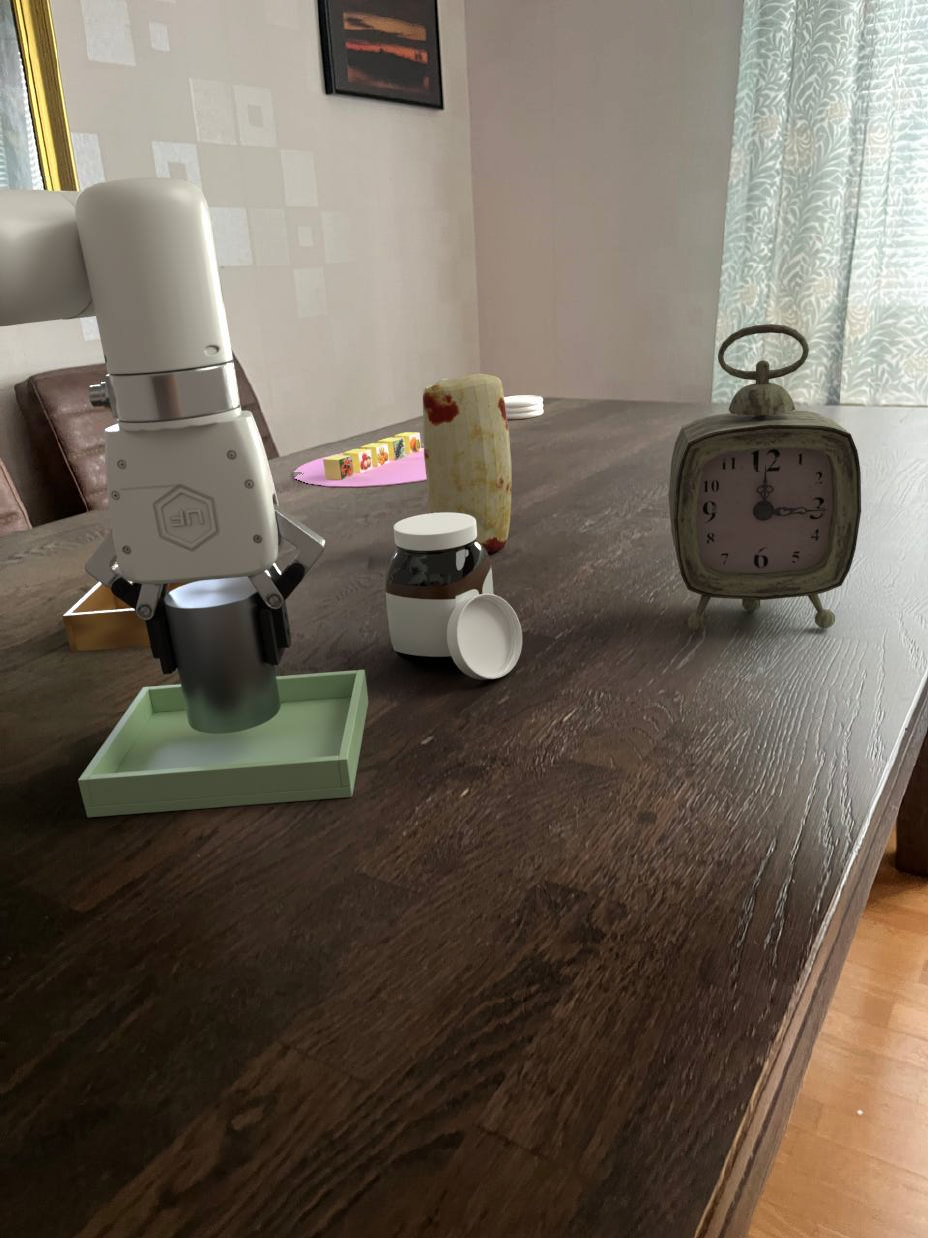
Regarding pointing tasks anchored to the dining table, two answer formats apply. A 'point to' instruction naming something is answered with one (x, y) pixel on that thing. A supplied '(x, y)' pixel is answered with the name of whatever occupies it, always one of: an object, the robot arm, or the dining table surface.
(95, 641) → the wooden box
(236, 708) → the can
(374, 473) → the platter
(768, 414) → the tabletop clock
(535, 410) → the white short ridged cylinder
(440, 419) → the food model
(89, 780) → the tray
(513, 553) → the dining table surface
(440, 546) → the spread jar
